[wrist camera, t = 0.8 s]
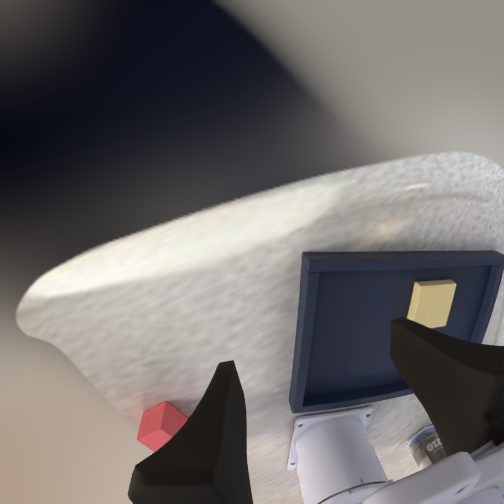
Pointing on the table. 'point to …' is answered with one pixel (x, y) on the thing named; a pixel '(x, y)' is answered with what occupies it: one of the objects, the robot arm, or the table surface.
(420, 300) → the beige square tile
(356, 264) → the tray
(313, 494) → the robot arm
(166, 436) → the eraser
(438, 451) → the pill bottle
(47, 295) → the table surface
